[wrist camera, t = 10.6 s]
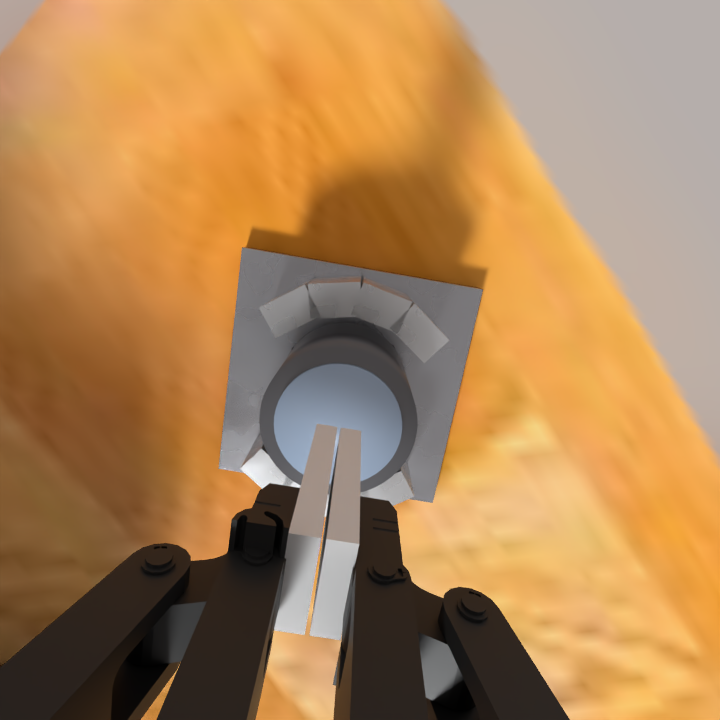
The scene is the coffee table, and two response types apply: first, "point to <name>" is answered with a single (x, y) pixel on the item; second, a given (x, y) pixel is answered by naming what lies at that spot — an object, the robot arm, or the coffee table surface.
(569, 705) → the coffee table surface
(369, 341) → the grey cylinder
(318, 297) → the grey square base
